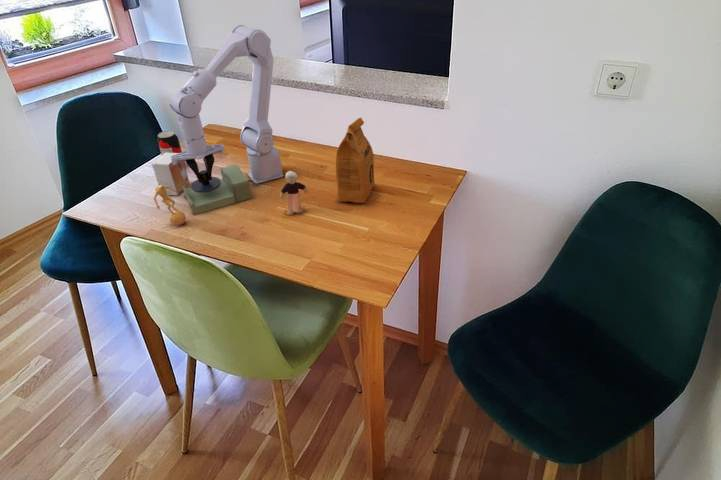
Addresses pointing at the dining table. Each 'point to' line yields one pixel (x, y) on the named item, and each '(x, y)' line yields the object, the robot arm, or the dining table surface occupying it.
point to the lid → (205, 183)
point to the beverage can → (169, 142)
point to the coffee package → (354, 165)
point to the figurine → (175, 216)
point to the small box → (170, 174)
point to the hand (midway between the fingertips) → (204, 180)
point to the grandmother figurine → (293, 193)
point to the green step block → (221, 191)
